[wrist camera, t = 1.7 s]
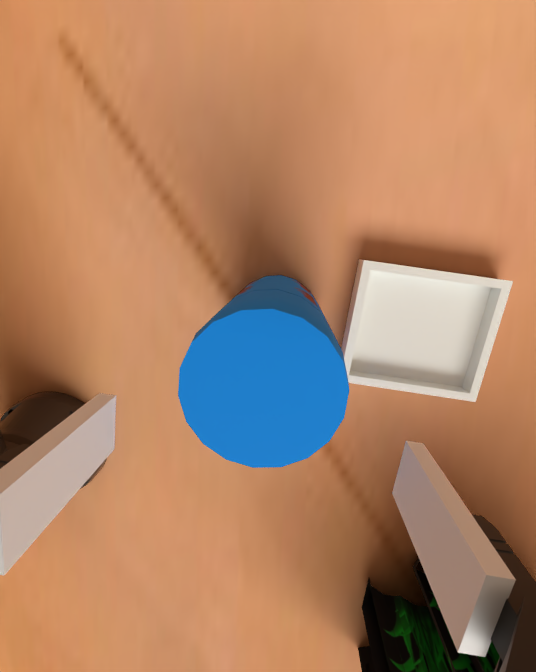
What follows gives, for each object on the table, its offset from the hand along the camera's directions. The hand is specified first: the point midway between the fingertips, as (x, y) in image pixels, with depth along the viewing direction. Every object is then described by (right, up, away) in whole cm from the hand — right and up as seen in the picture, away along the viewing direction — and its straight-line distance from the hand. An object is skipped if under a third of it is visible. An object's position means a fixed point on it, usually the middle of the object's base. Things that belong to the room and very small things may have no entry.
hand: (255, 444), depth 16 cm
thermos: (+2, +7, +30) cm, 31 cm away
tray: (+19, +6, +29) cm, 35 cm away
